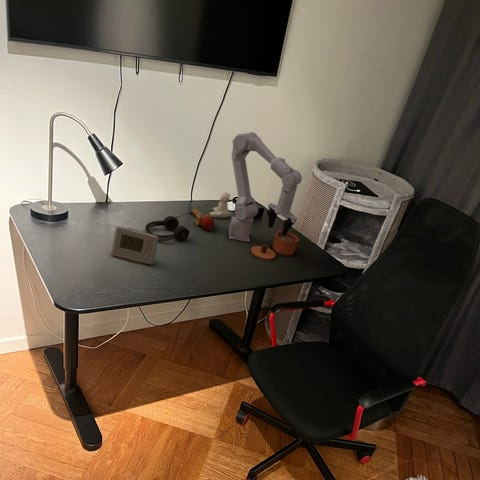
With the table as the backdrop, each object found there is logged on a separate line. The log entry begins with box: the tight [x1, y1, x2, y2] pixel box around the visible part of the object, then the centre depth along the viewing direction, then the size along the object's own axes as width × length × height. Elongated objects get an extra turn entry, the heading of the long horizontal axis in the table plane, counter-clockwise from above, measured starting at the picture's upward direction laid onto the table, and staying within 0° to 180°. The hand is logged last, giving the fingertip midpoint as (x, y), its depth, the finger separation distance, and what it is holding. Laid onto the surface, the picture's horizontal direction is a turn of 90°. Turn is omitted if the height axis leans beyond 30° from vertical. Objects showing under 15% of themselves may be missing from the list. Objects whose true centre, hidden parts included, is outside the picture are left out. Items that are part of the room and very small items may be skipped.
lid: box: [250, 243, 277, 260], centre depth 201 cm, size 11×11×4 cm
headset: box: [144, 211, 193, 242], centre depth 196 cm, size 14×10×20 cm
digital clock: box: [110, 225, 159, 265], centre depth 173 cm, size 16×9×11 cm, turn 72°
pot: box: [271, 230, 299, 256], centre depth 208 cm, size 10×10×7 cm
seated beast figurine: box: [209, 192, 231, 219], centre depth 223 cm, size 10×9×12 cm
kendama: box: [191, 208, 215, 231], centre depth 214 cm, size 8×6×18 cm
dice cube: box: [281, 236, 292, 241], centre depth 209 cm, size 5×5×5 cm
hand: (277, 231), depth 200 cm, fingers open, 7 cm apart
